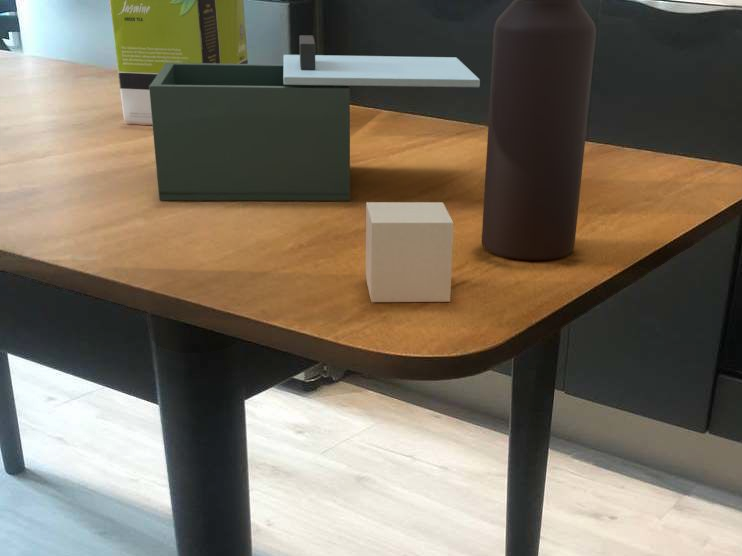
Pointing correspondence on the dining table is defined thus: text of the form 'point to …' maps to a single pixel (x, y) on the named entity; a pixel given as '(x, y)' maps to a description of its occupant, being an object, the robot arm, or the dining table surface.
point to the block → (408, 251)
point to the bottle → (537, 128)
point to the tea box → (171, 42)
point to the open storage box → (248, 135)
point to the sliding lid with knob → (373, 70)
